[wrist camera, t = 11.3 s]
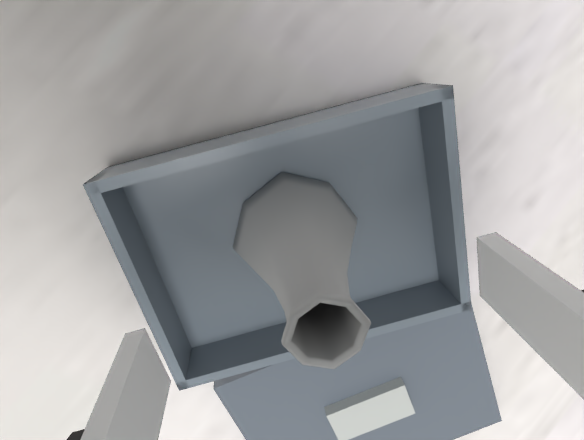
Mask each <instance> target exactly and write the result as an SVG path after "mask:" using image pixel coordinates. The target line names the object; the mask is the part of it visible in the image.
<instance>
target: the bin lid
mask: <svg viewBox="0 0 584 440" xmlns="http://www.w3.org/2000/svg"><path fill="white" fill-rule="evenodd" d="M214 390H215V392H216V393H217V395H218V397H219V398H220V400H221V401H222V403H223V404H224V406H225V408H226V409H227V411H228V412H229V414H230V415H231V417H232V418H233V420H234V422H235V423H236V425H237V426H238V428H239V429H240V431H241V432H242V434H243V436H244V437H245V439H246V440H453V439H456V438H459V437H461V436H464V435H466V434H469V433H471V432H474V431H477V430H479V429H482V428H484V427H487V426H490V425H492V424H495V423H497V422H500V421H502V420H501V416H500V413H499V409H498V405H497V401H496V397H495V393H494V389H493V386H492V382H491V378H490V374H489V370H488V366H487V362H486V359H485V355H484V351H483V347H482V343H481V339H480V335H479V332H478V328H477V324H476V320H475V316H474V312H473V308H472V305H471V310H468V311H464V312H461V313H457V314H454V315H450V316H446V317H443V318H439V319H435V320H432V321H428V322H425V323H421V324H417V325H414V326H410V327H407V328H403V329H399V330H396V331H392V332H389V333H385V334H381V335H378V336H374V337H371V338H367V339H365V340H364V343H363V346H362V348H361V351H359V352H358V353H357V354H355V355H354V356H352V357H351V358H349V359H348V360H347V361H345V362H344V363H342V364H341V365H339V366H338V367H337V368H335V369H329V368H322V367H315V366H307V365H302V364H301V363H300V362H299V361H298V360H297V359H296V358H295V359H291V360H288V361H284V362H281V363H277V364H273V365H270V366H266V367H262V368H259V369H255V370H252V371H248V372H244V373H241V374H237V375H234V376H230V377H226V378H223V379H219V380H216V381H214Z"/></svg>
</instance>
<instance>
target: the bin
mask: <svg viewBox="0 0 584 440" xmlns="http://www.w3.org/2000/svg"><path fill="white" fill-rule="evenodd" d="M281 172H285V173H289V174H293V175H297V176H302V177H306V178H310V179H315V180H319V181H323V182H327V183H330V184H331V185H332V187H333V188H334V189H335V190H336V192H337V193H338V194H339V195H340V197H341V198H342V199H343V201H344V202H345V203H346V204H347V206H348V207H349V208H350V209H351V211H352V212H353V213H354V215H355V216H356V217H357V224H356V229H355V233H354V237H353V241H352V246H351V252H350V258H349V265H348V271H347V276H348V284H349V292H350V297H351V299H352V300H353V301H354V302H355V303H356V305H357V306H358V307H359V308H360V309H361V310H362V311H363V313H364V314H365V315H366V316H367V317H368V318H369V319H370V322H371V325H370V327H369V330H368V333H367V335H366V338H365V339H367V338H371V337H374V336H378V335H381V334H385V333H389V332H392V331H396V330H399V329H403V328H407V327H410V326H414V325H417V324H421V323H425V322H428V321H432V320H435V319H439V318H443V317H446V316H450V315H454V314H457V313H461V312H464V311H468V310H471V298H470V286H469V274H468V262H467V250H466V238H465V226H464V214H463V202H462V190H461V178H460V166H459V154H458V142H457V130H456V118H455V106H454V94H453V85H439V84H426V83H421V84H417V85H414V86H410V87H406V88H402V89H399V90H395V91H391V92H387V93H384V94H380V95H376V96H373V97H369V98H365V99H361V100H358V101H354V102H350V103H346V104H343V105H339V106H335V107H331V108H328V109H324V110H320V111H316V112H313V113H309V114H305V115H301V116H298V117H294V118H290V119H287V120H283V121H279V122H275V123H272V124H268V125H264V126H260V127H257V128H253V129H249V130H245V131H242V132H238V133H234V134H230V135H227V136H223V137H219V138H215V139H212V140H208V141H204V142H201V143H197V144H193V145H189V146H186V147H182V148H178V149H174V150H171V151H167V152H163V153H159V154H156V155H152V156H148V157H144V158H141V159H137V160H133V161H129V162H126V163H122V164H118V165H115V166H111V167H107V168H106V169H104V170H103V171H101V172H100V173H99V174H97V175H96V176H94V177H93V178H91V179H90V180H89V181H87V182H86V183H84V184H83V186H84V188H85V190H86V192H87V195H88V197H89V199H90V201H91V203H92V205H93V207H94V209H95V212H96V214H97V216H98V218H99V220H100V222H101V224H102V227H103V229H104V231H105V233H106V235H107V237H108V239H109V241H110V244H111V246H112V248H113V250H114V252H115V254H116V256H117V259H118V261H119V263H120V265H121V267H122V269H123V271H124V274H125V276H126V278H127V280H128V282H129V284H130V286H131V288H132V291H133V293H134V295H135V297H136V299H137V301H138V303H139V306H140V308H141V310H142V312H143V314H144V316H145V318H146V320H147V323H148V325H149V327H150V329H151V331H152V333H153V335H154V338H155V340H156V342H157V344H158V346H159V348H160V350H161V353H162V355H163V357H164V359H165V361H166V363H167V365H168V367H169V370H170V372H171V374H172V376H173V378H174V380H175V382H176V385H177V387H178V389H179V391H180V390H183V389H187V388H190V387H194V386H198V385H201V384H205V383H208V382H212V381H216V380H219V379H223V378H226V377H230V376H234V375H237V374H241V373H244V372H248V371H252V370H255V369H259V368H262V367H266V366H270V365H273V364H277V363H281V362H284V361H288V360H291V359H295V357H294V356H293V355H292V354H291V353H290V352H289V351H288V350H287V349H286V348H285V347H284V346H283V345H282V342H281V340H282V336H283V332H284V329H285V326H286V317H285V311H284V309H283V308H282V306H281V304H280V302H279V300H278V298H277V296H276V294H275V292H274V290H273V289H272V288H271V287H270V286H269V285H268V284H267V283H266V282H265V281H264V280H263V279H262V278H261V277H260V276H259V275H258V274H257V273H256V272H255V270H254V269H253V268H252V267H251V266H250V265H249V264H248V263H247V262H246V261H245V260H244V259H243V258H242V257H241V256H240V255H239V254H238V253H237V252H236V251H235V250H234V249H233V244H234V240H235V235H236V231H237V227H238V222H239V218H240V214H241V210H242V205H243V203H244V202H245V201H246V200H248V199H249V198H250V197H251V196H253V195H254V194H255V193H256V192H257V191H259V190H260V189H261V188H262V187H264V186H265V185H266V184H267V183H269V182H270V181H271V180H272V179H274V178H275V177H276V176H277V175H279V174H280V173H281Z"/></svg>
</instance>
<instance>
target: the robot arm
mask: <svg viewBox="0 0 584 440" xmlns="http://www.w3.org/2000/svg"><path fill="white" fill-rule="evenodd" d="M477 253H478V271H479V289H480V296H481V297H482V298H483V299H484V300H485V301H486V302H487V303H488V304H489V305H490V306H491V307H492V308H493V309H494V310H495V311H496V312H497V313H498V314H499V315H500V316H501V317H502V318H503V319H504V320H505V321H506V322H507V323H508V324H509V325H510V326H511V327H512V328H513V329H514V330H515V331H516V332H517V333H518V334H519V335H520V336H521V337H522V338H523V339H524V340H525V341H526V342H527V343H528V344H529V345H530V346H531V347H532V348H533V349H534V350H535V351H536V352H537V353H538V354H539V355H540V356H541V357H542V358H543V359H544V360H545V361H546V362H547V363H548V364H549V365H550V366H551V367H552V368H553V369H554V370H555V371H556V372H557V373H558V374H559V375H560V376H561V377H562V378H563V379H564V380H565V381H566V382H567V383H568V384H569V385H570V386H571V387H572V388H573V389H574V390H575V391H576V392H577V393H578V394H579V395H580V396H581V397H582V398H583V399H584V290H579V289H578V288H576V287H575V286H573V285H572V284H570V283H569V282H568V281H566V280H565V279H563V278H562V277H560V276H559V275H557V274H556V273H554V272H553V271H552V270H550V269H549V268H547V267H546V266H544V265H543V264H541V263H540V262H538V261H537V260H536V259H534V258H533V257H531V256H530V255H528V254H527V253H525V252H524V251H522V250H521V249H520V248H518V247H517V246H515V245H514V244H512V243H511V242H509V241H508V240H506V239H505V238H503V237H502V236H501V235H499V234H498V233H496V232H495V233H491V234H487V235H484V236H480V237H477ZM170 383H171V380H170V378H169V376H168V374H167V372H166V370H165V368H164V366H163V364H162V362H161V360H160V358H159V356H158V354H157V352H156V350H155V348H154V346H153V344H152V342H151V340H150V338H149V336H148V334H147V332H146V330H145V328H144V329H140V330H137V331H133V332H130V333H126V334H125V335H124V338H123V340H122V343H121V345H120V347H119V350H118V352H117V354H116V357H115V359H114V361H113V364H112V366H111V369H110V371H109V373H108V376H107V378H106V380H105V383H104V385H103V387H102V390H101V392H100V394H99V397H98V399H97V402H96V404H95V406H94V409H93V411H92V413H91V416H90V418H89V420H88V423H87V425H86V428H85V429H83V430H80V431H76V432H73V433H71V435H70V436H69V437H68V439H67V440H158V437H159V433H160V428H161V424H162V419H163V414H164V410H165V405H166V401H167V396H168V392H169V387H170Z"/></svg>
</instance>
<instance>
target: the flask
mask: <svg viewBox="0 0 584 440" xmlns="http://www.w3.org/2000/svg"><path fill="white" fill-rule="evenodd" d="M356 224H357V217H356V216H355V215H354V213H353V212H352V211H351V209H350V208H349V207H348V206H347V204H346V203H345V202H344V201H343V199H342V198H341V197H340V195H339V194H338V193H337V192H336V190H335V189H334V188H333V187H332V185H331V184H330V183H327V182H323V181H319V180H315V179H310V178H306V177H302V176H297V175H293V174H289V173H285V172H281V173H280V174H279V175H277V176H276V177H275V178H274V179H272V180H271V181H270V182H269V183H267V184H266V185H265V186H264V187H262V188H261V189H260V190H259V191H257V192H256V193H255V194H254V195H253V196H251V197H250V198H249V199H248V200H246V201H245V202H244V203H243V205H242V210H241V214H240V218H239V222H238V227H237V231H236V235H235V240H234V244H233V249H234V250H235V251H236V252H237V253H238V254H239V255H240V256H241V257H242V258H243V259H244V260H245V261H246V262H247V263H248V264H249V265H250V266H251V267H252V268H253V269H254V270H255V272H256V273H257V274H258V275H259V276H260V277H261V278H262V279H263V280H264V281H265V282H266V283H267V284H268V285H269V286H270V287H271V288H272V289H273V290H274V292H275V294H276V296H277V298H278V300H279V302H280V304H281V306H282V308H283V309H284V311H285V317H286V326H285V329H284V332H283V336H282V340H281V342H282V345H283V346H284V347H285V348H286V349H287V350H288V351H289V352H290V353H291V354H292V355H293V356H294V357H295V358H296V359H297V360H298V361H299V362H300V363H301V364H302V365H307V366H315V367H322V368H329V369H335V368H337V367H338V366H339V365H341V364H342V363H344V362H345V361H347V360H348V359H349V358H351V357H352V356H354V355H355V354H357V353H358V352H359V351H361V348H362V346H363V343H364V340H365V338H366V335H367V333H368V330H369V327H370V325H371V322H370V319H369V318H368V317H367V316H366V315H365V314H364V313H363V311H362V310H361V309H360V308H359V307H358V306H357V305H356V303H355V302H354V301H353V300H352V299H351V297H350V292H349V284H348V276H347V271H348V265H349V258H350V252H351V246H352V241H353V237H354V233H355V229H356Z"/></svg>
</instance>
